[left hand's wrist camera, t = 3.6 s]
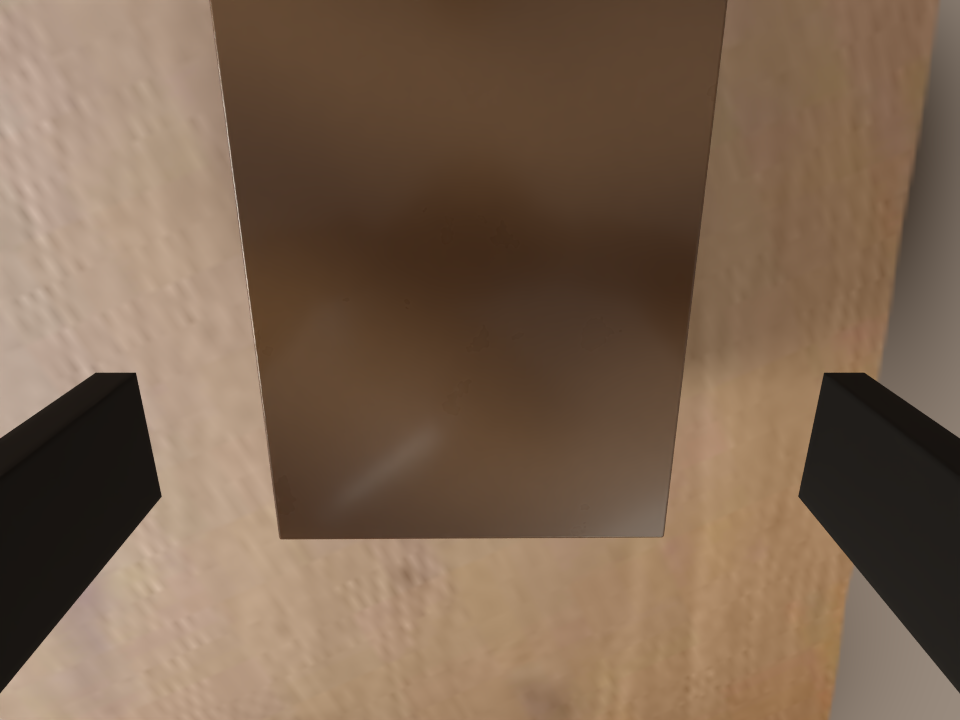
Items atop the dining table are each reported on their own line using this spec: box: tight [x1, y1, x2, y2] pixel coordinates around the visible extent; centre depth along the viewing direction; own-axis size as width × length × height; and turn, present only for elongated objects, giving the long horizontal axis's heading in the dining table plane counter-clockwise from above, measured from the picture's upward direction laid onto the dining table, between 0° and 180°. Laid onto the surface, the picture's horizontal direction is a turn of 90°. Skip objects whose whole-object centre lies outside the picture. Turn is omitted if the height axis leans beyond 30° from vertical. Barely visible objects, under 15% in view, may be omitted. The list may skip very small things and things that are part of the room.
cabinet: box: [210, 0, 728, 539], centre depth 19 cm, size 16×10×10 cm, turn 0°
